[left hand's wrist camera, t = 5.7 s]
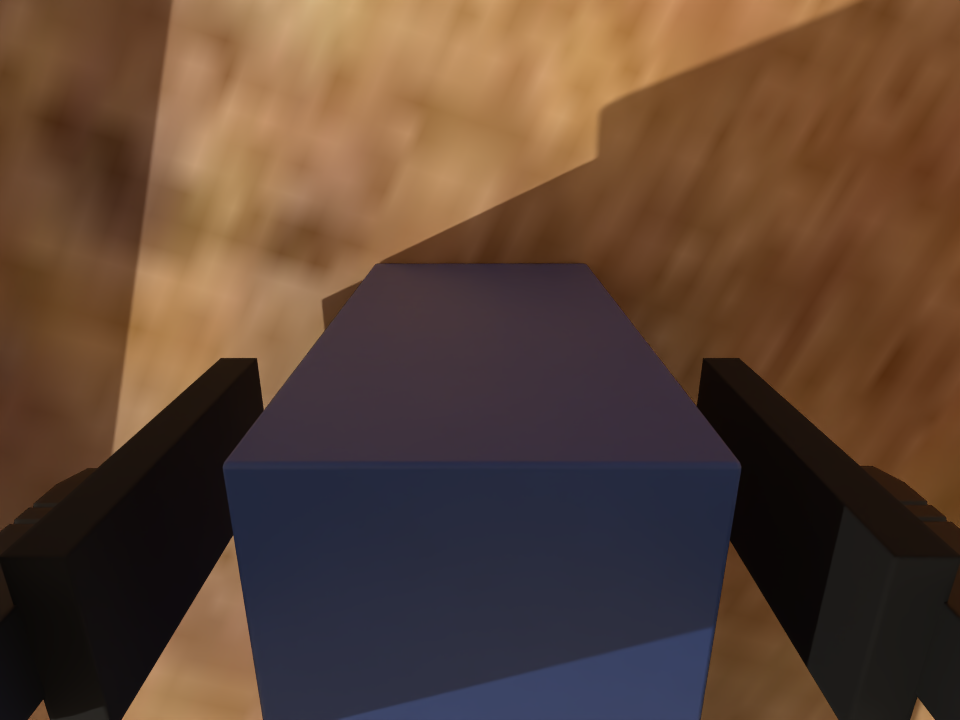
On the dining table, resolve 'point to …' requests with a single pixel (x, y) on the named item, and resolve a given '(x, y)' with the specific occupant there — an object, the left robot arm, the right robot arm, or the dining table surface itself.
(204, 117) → the dining table surface
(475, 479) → the bar
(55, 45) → the dining table surface
